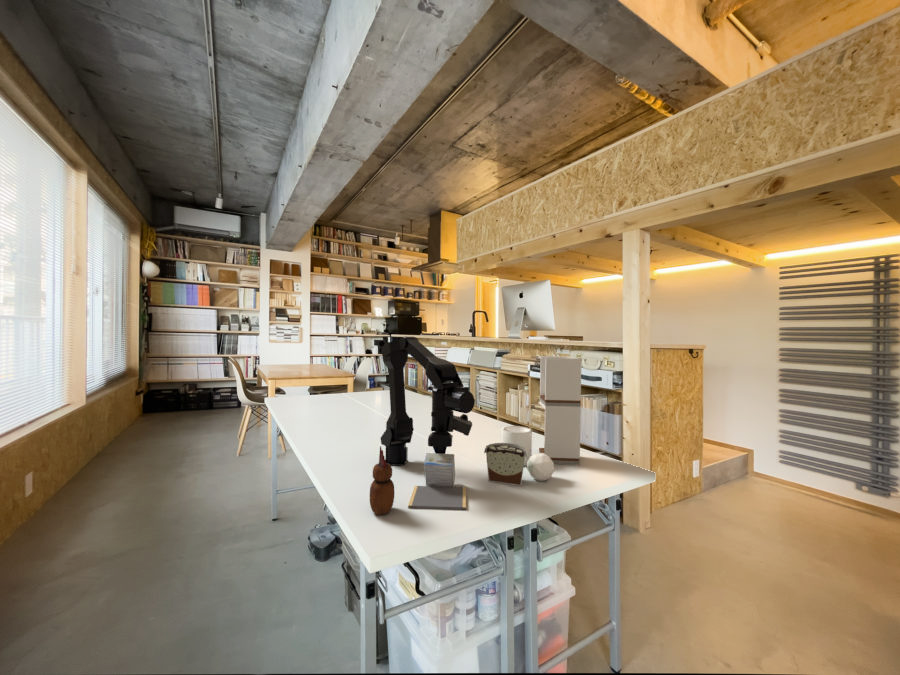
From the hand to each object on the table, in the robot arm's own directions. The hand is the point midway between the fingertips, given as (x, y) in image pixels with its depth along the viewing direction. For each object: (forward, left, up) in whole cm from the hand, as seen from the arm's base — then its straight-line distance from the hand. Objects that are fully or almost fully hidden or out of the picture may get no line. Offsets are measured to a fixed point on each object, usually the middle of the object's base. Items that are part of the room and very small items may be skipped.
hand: (441, 462), depth 106 cm
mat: (0, -9, -6) cm, 11 cm away
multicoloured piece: (+19, +5, -6) cm, 21 cm away
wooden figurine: (-13, -17, -6) cm, 22 cm away
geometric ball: (+29, +6, -6) cm, 30 cm away
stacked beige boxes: (+39, +25, -6) cm, 47 cm away
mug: (+24, +23, -6) cm, 34 cm away
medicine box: (0, 0, -5) cm, 5 cm away
